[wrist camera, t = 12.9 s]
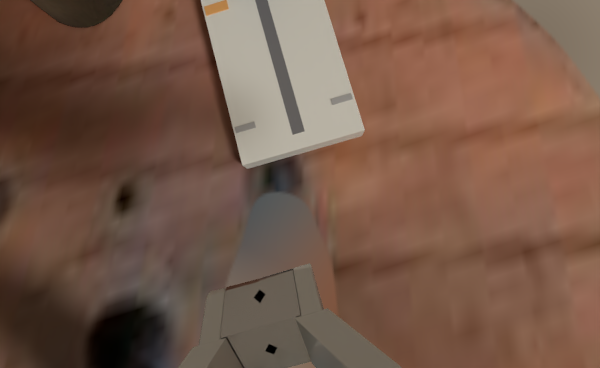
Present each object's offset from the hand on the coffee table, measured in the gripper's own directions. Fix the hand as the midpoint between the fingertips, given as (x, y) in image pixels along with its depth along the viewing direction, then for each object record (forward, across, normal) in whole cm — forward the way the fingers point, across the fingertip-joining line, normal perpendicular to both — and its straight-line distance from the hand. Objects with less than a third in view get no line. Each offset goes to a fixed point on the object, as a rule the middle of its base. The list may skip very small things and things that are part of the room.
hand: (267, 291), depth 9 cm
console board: (+28, -4, -3) cm, 28 cm away
